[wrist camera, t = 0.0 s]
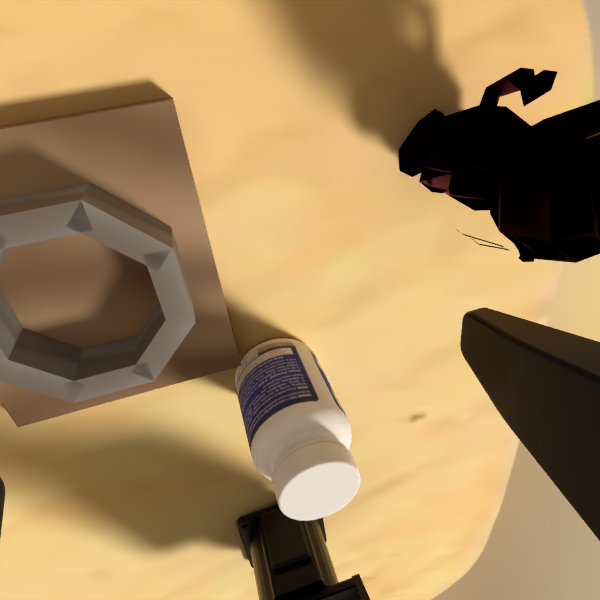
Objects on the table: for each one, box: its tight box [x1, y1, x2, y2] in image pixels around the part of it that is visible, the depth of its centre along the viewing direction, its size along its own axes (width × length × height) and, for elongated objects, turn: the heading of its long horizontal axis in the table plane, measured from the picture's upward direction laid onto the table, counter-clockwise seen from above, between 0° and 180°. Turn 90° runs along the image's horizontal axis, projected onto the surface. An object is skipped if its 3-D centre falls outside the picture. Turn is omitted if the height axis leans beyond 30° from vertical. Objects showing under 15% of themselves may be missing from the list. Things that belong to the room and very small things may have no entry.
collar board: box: [0, 98, 241, 427], centre depth 20 cm, size 14×12×4 cm
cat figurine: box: [399, 68, 600, 262], centre depth 18 cm, size 7×7×12 cm
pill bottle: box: [235, 338, 361, 521], centre depth 24 cm, size 5×5×9 cm
